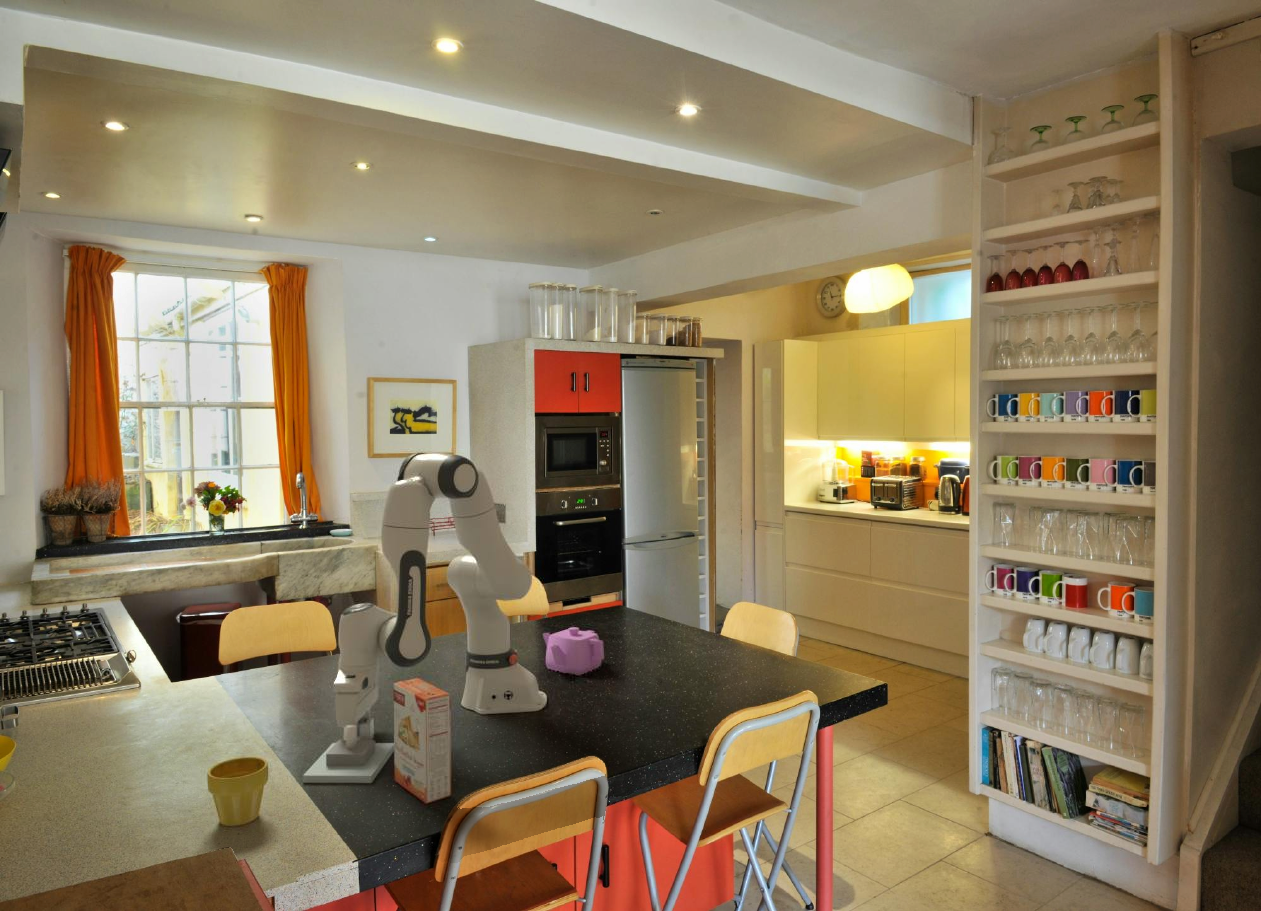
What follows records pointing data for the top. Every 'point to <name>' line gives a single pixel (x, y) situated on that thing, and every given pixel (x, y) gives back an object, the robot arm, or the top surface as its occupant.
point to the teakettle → (573, 651)
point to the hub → (364, 728)
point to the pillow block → (350, 761)
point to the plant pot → (238, 789)
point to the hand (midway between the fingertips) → (358, 732)
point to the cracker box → (422, 739)
